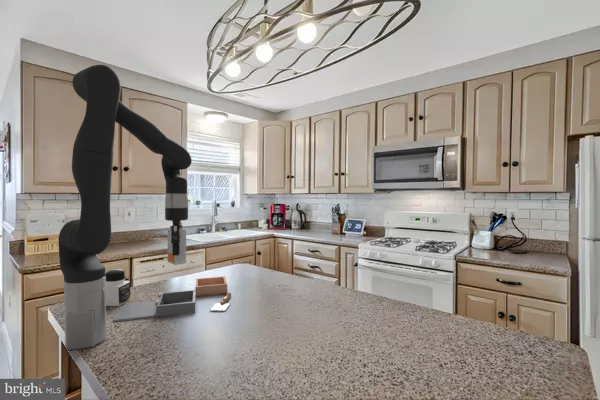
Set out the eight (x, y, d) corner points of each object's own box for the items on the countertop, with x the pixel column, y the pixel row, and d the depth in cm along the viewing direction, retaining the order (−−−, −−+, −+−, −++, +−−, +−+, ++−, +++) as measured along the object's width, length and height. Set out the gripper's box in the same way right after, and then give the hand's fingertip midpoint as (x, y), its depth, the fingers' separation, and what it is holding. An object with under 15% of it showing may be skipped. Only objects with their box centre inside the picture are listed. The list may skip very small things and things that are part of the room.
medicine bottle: (119, 306, 110) (118, 273, 109) (99, 306, 110) (99, 273, 109) (130, 299, 117) (130, 268, 116) (112, 299, 117) (111, 268, 117)
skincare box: (166, 262, 109) (166, 228, 109) (178, 260, 112) (178, 228, 112) (174, 265, 104) (174, 230, 104) (186, 263, 108) (186, 229, 107)
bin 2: (227, 294, 123) (227, 284, 123) (195, 297, 119) (195, 287, 119) (224, 285, 134) (224, 276, 134) (195, 288, 131) (195, 278, 130)
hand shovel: (222, 296, 120) (222, 292, 120) (235, 296, 120) (235, 292, 119) (210, 311, 105) (210, 306, 105) (224, 311, 105) (224, 307, 104)
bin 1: (195, 312, 104) (195, 299, 104) (112, 322, 96) (112, 308, 96) (195, 298, 117) (195, 287, 117) (123, 306, 110) (123, 294, 109)
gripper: (187, 207, 102) (187, 256, 103) (188, 205, 116) (188, 249, 116) (162, 207, 100) (162, 257, 100) (167, 206, 114) (167, 250, 114)
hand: (176, 253), depth 108 cm, fingers closed on skincare box, 7 cm apart
